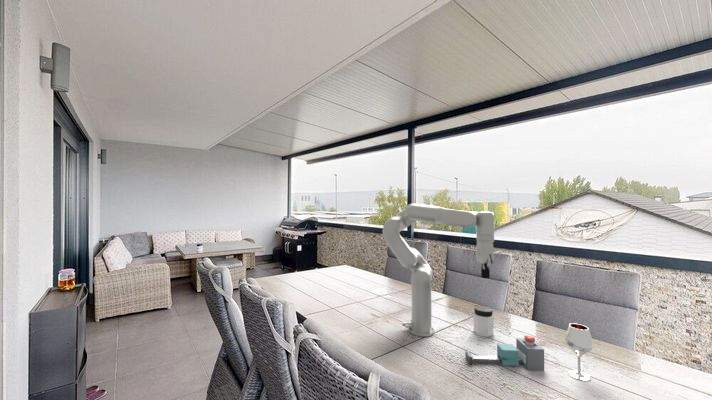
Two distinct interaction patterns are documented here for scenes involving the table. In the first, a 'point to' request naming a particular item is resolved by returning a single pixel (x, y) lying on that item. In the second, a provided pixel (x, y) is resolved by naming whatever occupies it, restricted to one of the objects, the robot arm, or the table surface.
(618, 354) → the table surface
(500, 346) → the carriage
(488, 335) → the jar
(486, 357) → the rail
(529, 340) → the plunger
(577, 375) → the wineglass
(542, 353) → the housing
